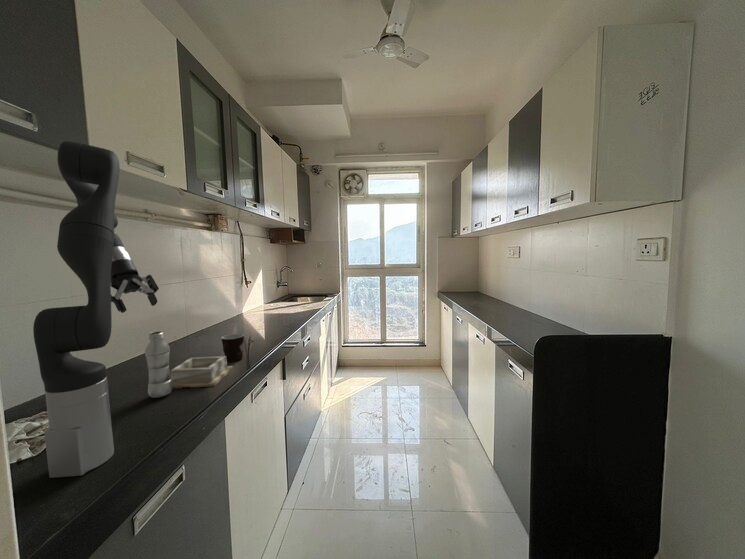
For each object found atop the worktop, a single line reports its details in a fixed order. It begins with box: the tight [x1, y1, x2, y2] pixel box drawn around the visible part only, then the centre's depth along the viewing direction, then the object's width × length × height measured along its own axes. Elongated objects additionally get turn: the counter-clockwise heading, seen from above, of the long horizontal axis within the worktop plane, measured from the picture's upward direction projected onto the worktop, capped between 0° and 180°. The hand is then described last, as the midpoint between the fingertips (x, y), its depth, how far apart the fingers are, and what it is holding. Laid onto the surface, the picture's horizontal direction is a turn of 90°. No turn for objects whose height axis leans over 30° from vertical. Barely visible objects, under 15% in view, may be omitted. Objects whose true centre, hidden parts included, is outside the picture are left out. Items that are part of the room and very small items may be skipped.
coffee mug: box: [220, 333, 245, 363], centre depth 125 cm, size 12×9×10 cm
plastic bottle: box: [144, 331, 174, 399], centre depth 94 cm, size 6×7×20 cm
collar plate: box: [170, 355, 234, 389], centre depth 108 cm, size 16×16×6 cm
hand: (140, 308), depth 96 cm, fingers open, 8 cm apart
